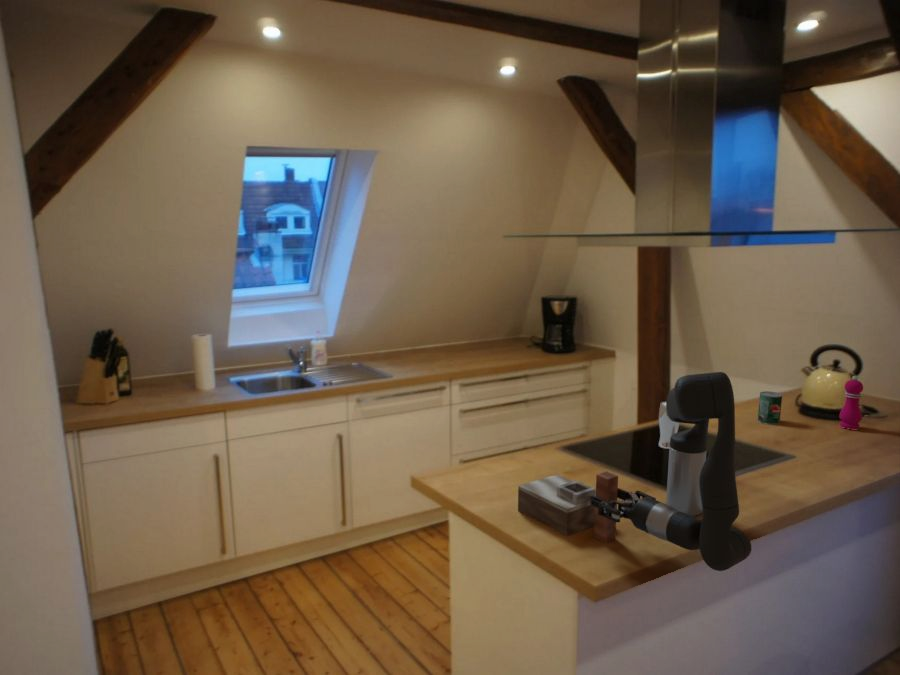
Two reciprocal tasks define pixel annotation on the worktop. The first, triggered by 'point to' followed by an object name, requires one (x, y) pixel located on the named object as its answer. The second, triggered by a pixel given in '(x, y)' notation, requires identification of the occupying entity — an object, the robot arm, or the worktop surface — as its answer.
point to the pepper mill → (851, 404)
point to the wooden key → (607, 492)
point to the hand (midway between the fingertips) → (603, 495)
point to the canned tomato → (769, 407)
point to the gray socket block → (558, 503)
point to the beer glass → (666, 427)
